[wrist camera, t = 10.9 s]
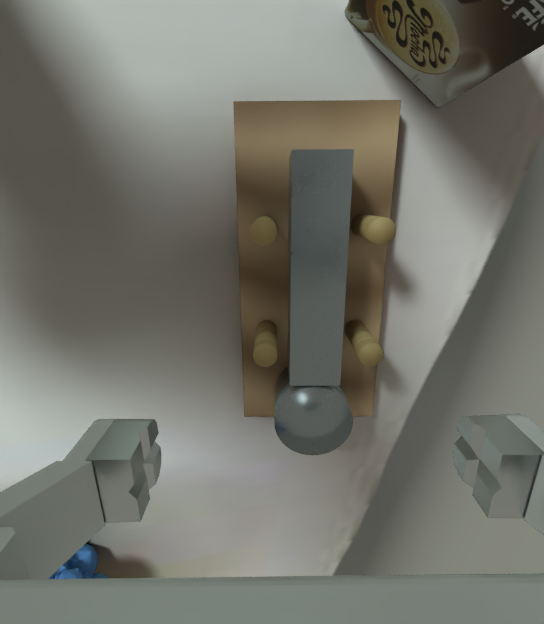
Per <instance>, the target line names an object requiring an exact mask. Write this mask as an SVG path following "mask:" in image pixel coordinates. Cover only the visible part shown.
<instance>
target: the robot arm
mask: <svg viewBox="0 0 544 624" xmlns="http://www.w3.org/2000/svg"><path fill="white" fill-rule="evenodd" d="M457 430H458V432H459V433H460V435H461V437H460V438H459V439H458V440H457V441H456V442H455V443H454V450H453V458H454V464H455V467H456V469H457V472H458V474H459V475H460V477H461V478H462V480H463V481H464V482H466V483H467V484H469V485H470V486H472V487H473V488H474V489H473V496H474V498H475V499H476V501H477V502H478V504H479V505H480V507H481V508H482V510H483V511H484V513H485V514H486V516H487V517H488V518H525V519H524V520H525V521H526V522H527V523H529V524H530V525H531V526H533V527H534V528H535V529H537V530H538V531H539V532H541V533H542V534H543V535H544V432H543V431H542V430H541V429H540V428H539V427H538V426H537V425H535V424H534V423H533V422H532V421H531V420H529V419H528V418H527V417H526V416H524V415H521V414H503V415H485V416H484V415H483V416H462V417H461V418H460V420H459V422H458V426H457ZM157 435H158V428H157V422H156V421H155V420H154V419H98V420H96V421H94V422H93V423H92V425H91V426H90V427H89V428H88V430H87V431H86V432H85V434H84V435H83V436H82V437H81V439H80V440H79V441H78V442H77V444H76V445H75V446H74V447H73V449H72V450H71V451H70V452H69V454H68V455H67V456H66V458H65V459H64V460H63V461H56V462H54V463H52V464H51V465H49V466H47V467H45V468H43V469H42V470H40V471H38V472H36V473H34V474H33V475H31V476H29V477H27V478H25V479H24V480H22V481H20V482H18V483H16V484H15V485H13V486H11V487H9V488H7V489H6V490H4V491H2V492H0V624H544V574H467V575H465V574H462V575H368V576H367V575H362V576H276V577H187V578H96V579H48V578H49V577H51V576H52V575H53V574H54V573H55V572H56V571H57V570H58V569H59V568H60V567H61V566H62V565H63V564H64V563H65V562H66V561H67V560H69V559H70V558H71V557H72V556H73V555H74V554H75V553H76V552H77V551H78V550H79V549H80V548H81V547H82V546H83V545H84V544H85V543H87V542H88V541H89V540H90V539H91V538H92V537H93V536H94V535H95V534H96V533H97V532H98V531H99V530H100V529H101V528H102V527H103V526H105V523H118V522H141V519H142V517H143V515H144V512H145V510H146V507H147V505H148V502H149V500H150V495H149V489H150V488H152V487H153V486H154V485H155V484H156V482H157V480H158V477H159V473H160V468H161V448H160V446H159V445H158V444H157V443H156V442H155V439H156V437H157Z"/></svg>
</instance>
